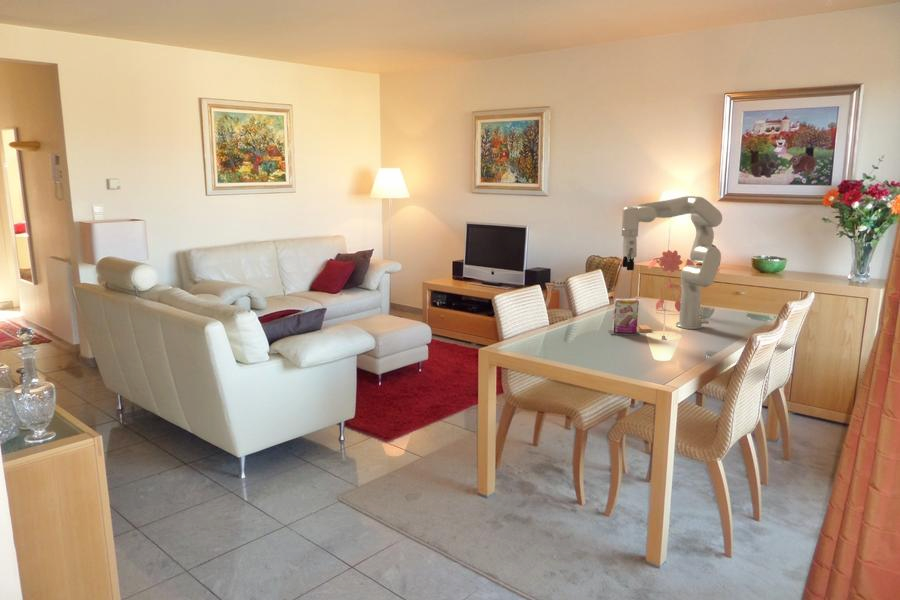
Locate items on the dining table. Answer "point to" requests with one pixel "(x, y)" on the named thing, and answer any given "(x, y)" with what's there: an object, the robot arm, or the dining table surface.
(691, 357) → the dining table surface
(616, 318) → the candy bar box
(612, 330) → the rubber pad
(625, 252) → the robot arm
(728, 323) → the dining table surface
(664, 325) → the dining table surface
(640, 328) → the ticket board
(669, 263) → the pink artificial flower
